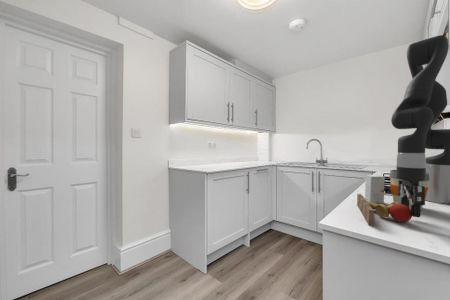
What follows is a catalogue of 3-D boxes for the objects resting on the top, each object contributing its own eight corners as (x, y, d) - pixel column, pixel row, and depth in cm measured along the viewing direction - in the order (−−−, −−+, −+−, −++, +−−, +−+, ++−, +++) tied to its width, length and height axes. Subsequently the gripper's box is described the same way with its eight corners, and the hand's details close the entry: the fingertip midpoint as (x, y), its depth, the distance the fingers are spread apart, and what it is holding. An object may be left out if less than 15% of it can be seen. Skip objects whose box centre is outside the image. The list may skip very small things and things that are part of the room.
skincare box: (370, 203, 92) (371, 176, 92) (364, 200, 97) (364, 174, 96) (384, 203, 92) (385, 176, 91) (377, 200, 96) (378, 174, 96)
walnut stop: (357, 205, 89) (357, 193, 89) (360, 205, 89) (361, 194, 89) (368, 225, 68) (369, 210, 68) (373, 226, 67) (374, 210, 67)
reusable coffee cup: (386, 206, 87) (387, 171, 86) (390, 200, 96) (391, 168, 95) (427, 214, 78) (429, 175, 77) (428, 207, 87) (429, 171, 86)
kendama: (356, 211, 84) (397, 222, 66) (357, 196, 85) (398, 202, 67) (373, 214, 85) (418, 225, 67) (374, 199, 86) (419, 205, 68)
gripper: (436, 168, 63) (435, 221, 63) (415, 165, 76) (414, 208, 76) (405, 167, 66) (404, 217, 66) (390, 164, 79) (389, 206, 79)
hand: (409, 213), depth 71 cm, fingers open, 8 cm apart
